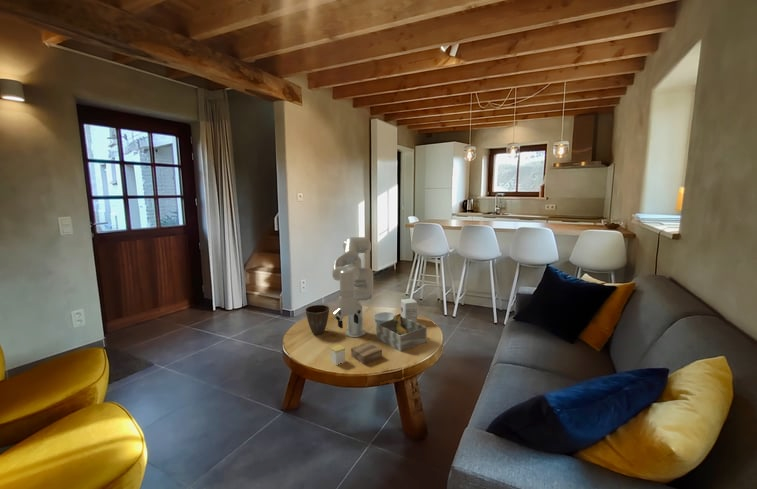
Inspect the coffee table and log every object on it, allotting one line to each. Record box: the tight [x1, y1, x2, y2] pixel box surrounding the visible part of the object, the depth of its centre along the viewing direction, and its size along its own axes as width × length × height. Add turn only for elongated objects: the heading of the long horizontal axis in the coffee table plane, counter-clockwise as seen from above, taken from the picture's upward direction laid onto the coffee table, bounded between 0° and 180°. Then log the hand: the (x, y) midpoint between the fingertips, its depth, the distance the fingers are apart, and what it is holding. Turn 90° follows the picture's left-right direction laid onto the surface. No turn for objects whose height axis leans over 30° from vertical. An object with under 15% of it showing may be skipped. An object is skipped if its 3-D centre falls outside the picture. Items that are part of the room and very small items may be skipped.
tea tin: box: [329, 344, 346, 366], centre depth 181 cm, size 6×6×8 cm
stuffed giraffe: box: [393, 313, 407, 335], centre depth 206 cm, size 16×18×16 cm
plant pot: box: [305, 304, 330, 335], centre depth 218 cm, size 15×15×16 cm
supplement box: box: [400, 297, 418, 323], centre depth 235 cm, size 9×9×15 cm
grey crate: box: [375, 317, 428, 352], centre depth 207 cm, size 23×21×9 cm
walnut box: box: [350, 342, 383, 366], centre depth 186 cm, size 12×12×5 cm
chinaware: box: [373, 311, 396, 324], centre depth 226 cm, size 15×15×8 cm
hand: (348, 325), depth 178 cm, fingers open, 9 cm apart
